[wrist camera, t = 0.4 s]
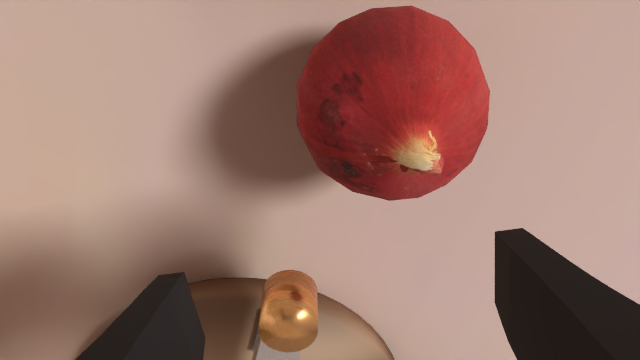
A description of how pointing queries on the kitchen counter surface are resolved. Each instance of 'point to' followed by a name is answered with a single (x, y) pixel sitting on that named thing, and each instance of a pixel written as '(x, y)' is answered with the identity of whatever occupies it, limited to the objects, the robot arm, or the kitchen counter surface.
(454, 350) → the kitchen counter surface
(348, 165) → the onion
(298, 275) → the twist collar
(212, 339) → the base
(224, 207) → the kitchen counter surface
